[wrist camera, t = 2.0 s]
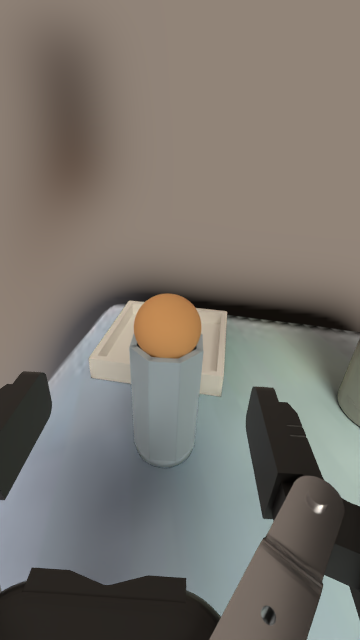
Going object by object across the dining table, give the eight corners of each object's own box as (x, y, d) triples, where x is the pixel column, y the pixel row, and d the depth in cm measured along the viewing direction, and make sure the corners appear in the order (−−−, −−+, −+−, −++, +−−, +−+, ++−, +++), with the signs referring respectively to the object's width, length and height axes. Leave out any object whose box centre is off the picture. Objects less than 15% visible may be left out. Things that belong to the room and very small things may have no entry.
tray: (129, 316, 51) (129, 300, 50) (224, 327, 50) (227, 311, 48) (91, 377, 38) (88, 358, 36) (220, 396, 36) (223, 376, 34)
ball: (180, 332, 28) (182, 279, 25) (211, 364, 24) (218, 305, 21) (125, 345, 26) (122, 289, 23) (150, 383, 22) (149, 320, 19)
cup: (193, 420, 33) (202, 324, 27) (193, 469, 28) (204, 364, 22) (140, 417, 33) (137, 320, 27) (131, 466, 28) (124, 360, 22)
